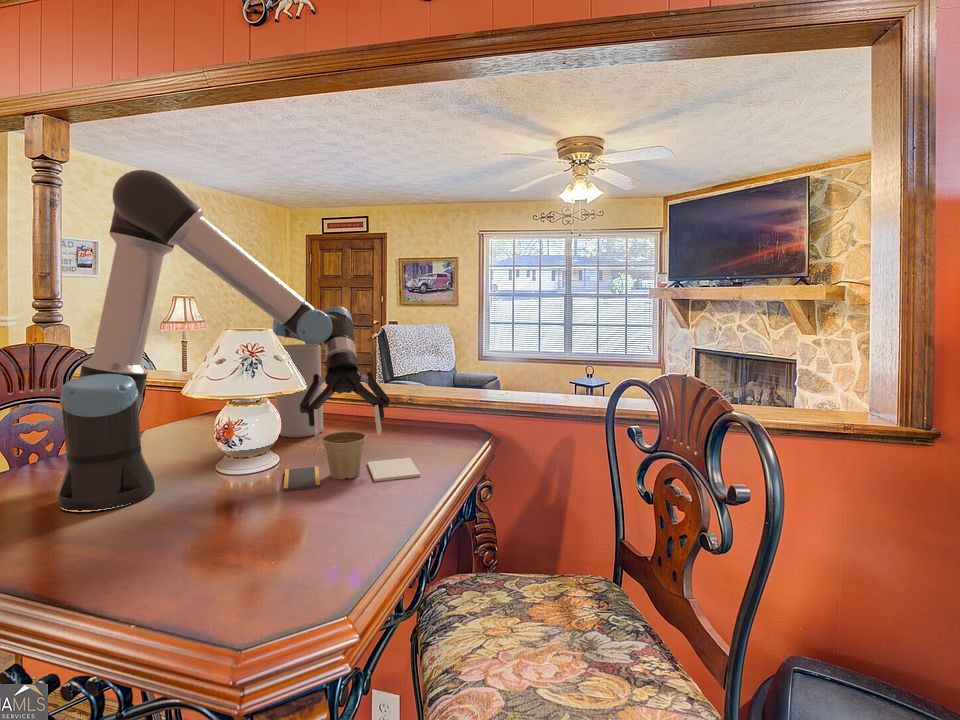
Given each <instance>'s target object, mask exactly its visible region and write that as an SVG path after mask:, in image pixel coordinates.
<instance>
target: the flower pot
mask: <svg viewBox="0 0 960 720" xmlns="http://www.w3.org/2000/svg"><path fill="white" fill-rule="evenodd" d="M366 439H367V435H366V433H363V432H360V431H359V432H358V431H339V432H337V431H336V432H332V433H328V434H326V435H323V437H321V441H322V442H323V447H324V448H325V451H326V456H327V462H328V468H329V474H330V477H331V478H332V479H335V480H341V481H342V480H343V481H344V480H345V479H355V478H356V477H358V476H360V472H361V466H362V465H361V464H362V457H363V456H362V455H363V447H364V444H365V440H366Z"/></svg>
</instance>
